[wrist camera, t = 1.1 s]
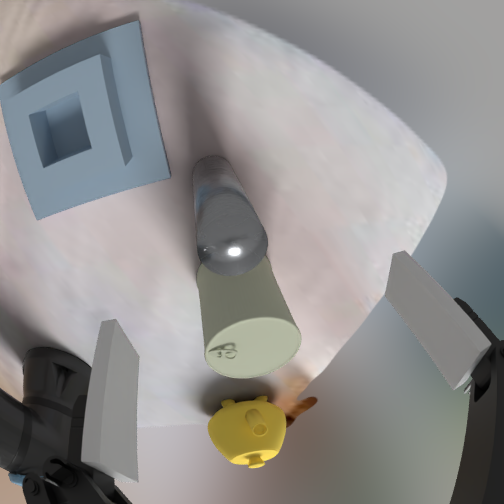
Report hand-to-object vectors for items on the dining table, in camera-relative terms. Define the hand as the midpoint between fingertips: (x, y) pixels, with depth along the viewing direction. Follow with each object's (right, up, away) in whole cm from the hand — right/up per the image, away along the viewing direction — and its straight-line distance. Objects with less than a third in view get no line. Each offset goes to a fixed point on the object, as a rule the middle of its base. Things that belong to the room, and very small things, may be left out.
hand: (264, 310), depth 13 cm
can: (-3, 0, +23) cm, 23 cm away
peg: (-4, +10, +15) cm, 19 cm away
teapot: (-2, -28, +40) cm, 49 cm away
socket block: (-17, +15, +9) cm, 25 cm away
